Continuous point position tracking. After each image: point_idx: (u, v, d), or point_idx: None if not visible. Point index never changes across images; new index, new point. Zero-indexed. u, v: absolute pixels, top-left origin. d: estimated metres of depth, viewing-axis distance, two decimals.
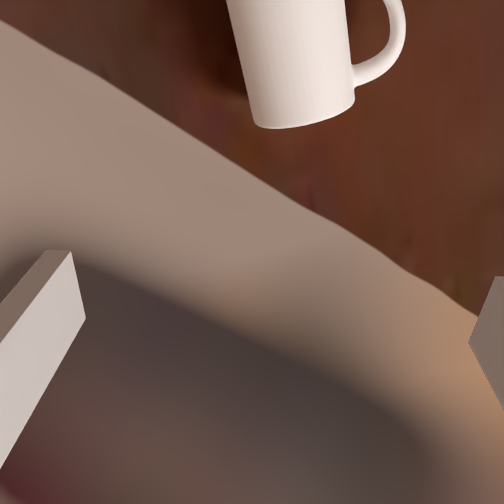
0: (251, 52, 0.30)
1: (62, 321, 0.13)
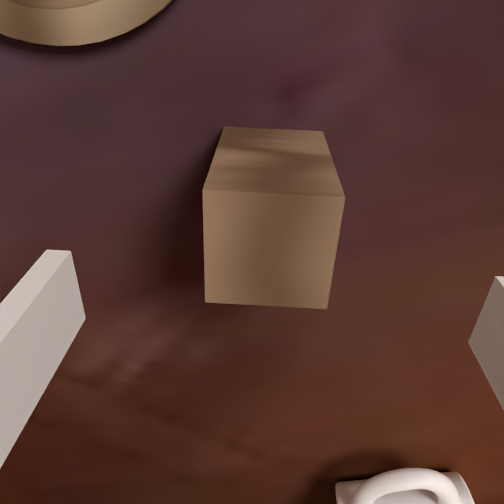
0: None
1: (62, 321, 0.13)
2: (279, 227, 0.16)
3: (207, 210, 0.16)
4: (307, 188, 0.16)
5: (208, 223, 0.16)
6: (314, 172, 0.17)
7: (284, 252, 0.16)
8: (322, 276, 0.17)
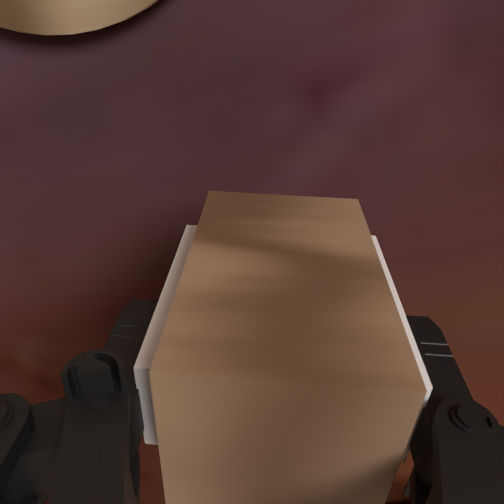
0: None
1: None
2: (296, 429, 0.09)
3: (161, 402, 0.08)
4: (350, 358, 0.08)
5: (164, 419, 0.09)
6: (357, 308, 0.10)
7: (305, 462, 0.09)
8: (371, 494, 0.10)
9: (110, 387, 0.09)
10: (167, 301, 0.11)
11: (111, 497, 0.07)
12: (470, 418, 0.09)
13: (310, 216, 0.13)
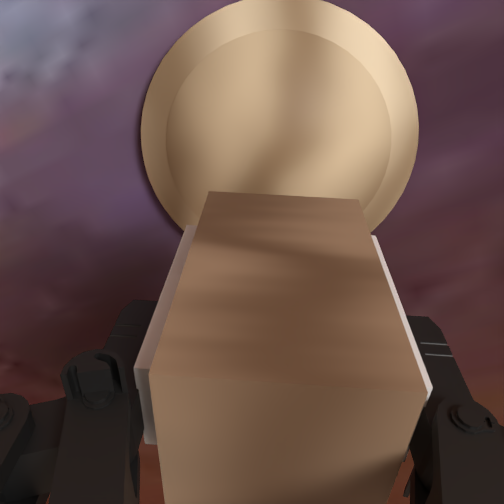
0: None
1: None
2: (296, 431, 0.08)
3: (160, 404, 0.08)
4: (350, 360, 0.08)
5: (163, 421, 0.09)
6: (357, 309, 0.10)
7: (305, 464, 0.09)
8: (372, 496, 0.10)
9: (110, 387, 0.09)
10: (167, 301, 0.11)
11: (111, 497, 0.07)
12: (470, 418, 0.09)
13: (310, 216, 0.13)
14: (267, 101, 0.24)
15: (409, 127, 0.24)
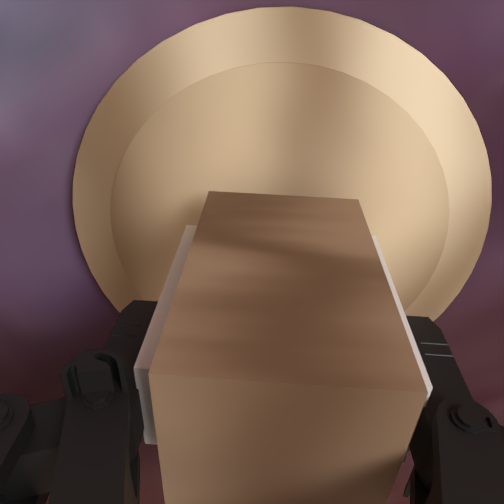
0: None
1: None
2: (296, 431, 0.08)
3: (160, 404, 0.08)
4: (351, 359, 0.08)
5: (163, 421, 0.09)
6: (357, 309, 0.10)
7: (305, 463, 0.09)
8: (372, 496, 0.10)
9: (110, 387, 0.09)
10: (167, 301, 0.11)
11: (111, 497, 0.07)
12: (470, 418, 0.09)
13: (310, 216, 0.13)
14: (262, 168, 0.16)
15: (477, 206, 0.16)
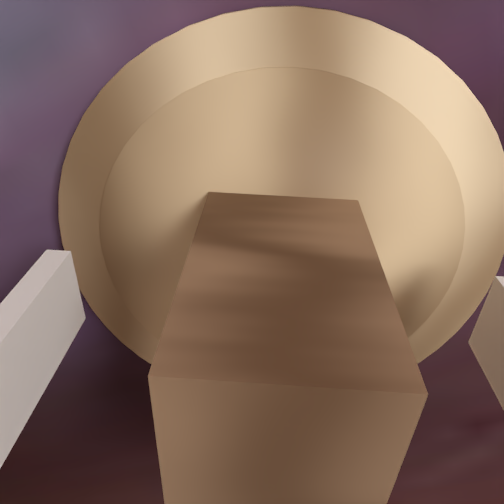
0: None
1: (62, 321, 0.13)
2: (296, 432, 0.08)
3: (159, 406, 0.08)
4: (351, 361, 0.08)
5: (163, 423, 0.08)
6: (357, 310, 0.10)
7: (305, 465, 0.09)
8: (372, 497, 0.10)
9: None
10: None
11: None
12: None
13: (310, 217, 0.13)
14: (262, 181, 0.14)
15: (495, 222, 0.15)
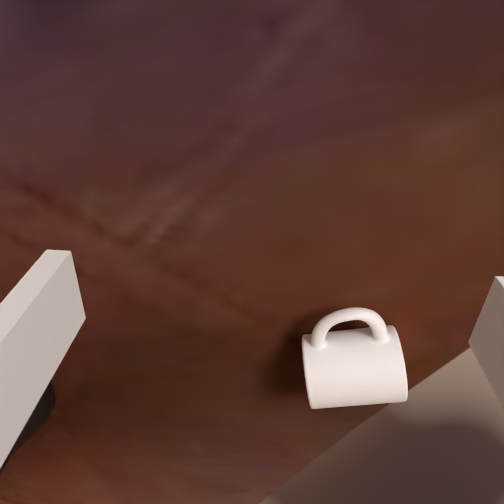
0: None
1: (62, 321, 0.13)
2: None
3: None
4: None
5: None
6: None
7: None
8: None
9: None
10: None
11: None
12: None
13: None
14: None
15: None
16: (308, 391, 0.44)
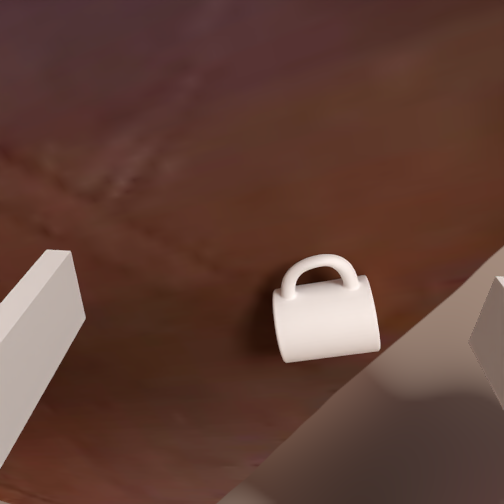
0: (327, 357, 0.46)
1: (62, 321, 0.13)
2: None
3: None
4: None
5: None
6: None
7: None
8: None
9: None
10: None
11: None
12: None
13: None
14: None
15: None
16: (279, 342, 0.43)
